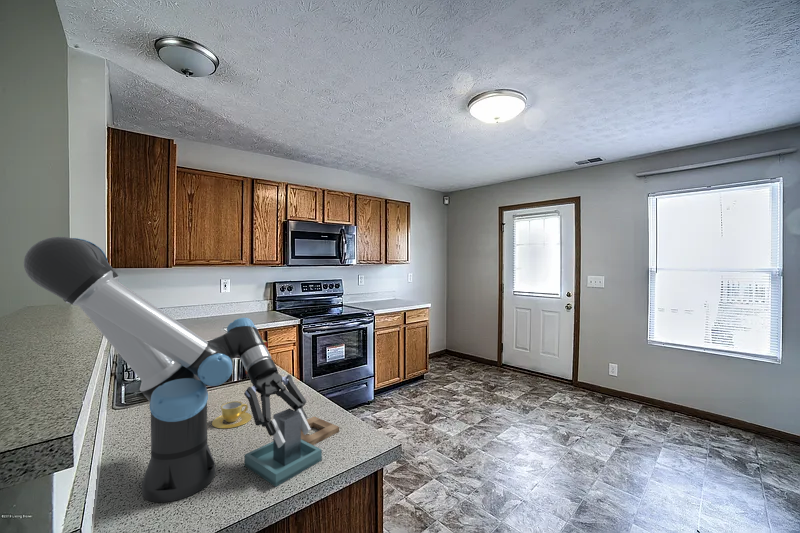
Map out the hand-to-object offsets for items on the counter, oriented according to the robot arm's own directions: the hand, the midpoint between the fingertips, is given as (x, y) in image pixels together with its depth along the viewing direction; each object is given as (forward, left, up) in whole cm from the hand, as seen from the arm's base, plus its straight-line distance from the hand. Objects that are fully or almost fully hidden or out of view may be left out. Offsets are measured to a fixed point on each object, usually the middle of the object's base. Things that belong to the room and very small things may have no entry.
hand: (295, 438), depth 93 cm
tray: (-1, +4, -8) cm, 8 cm away
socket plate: (+14, +11, -8) cm, 19 cm away
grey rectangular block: (0, +3, -7) cm, 7 cm away
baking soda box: (+34, +75, -8) cm, 83 cm away
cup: (+4, +39, -8) cm, 40 cm away
